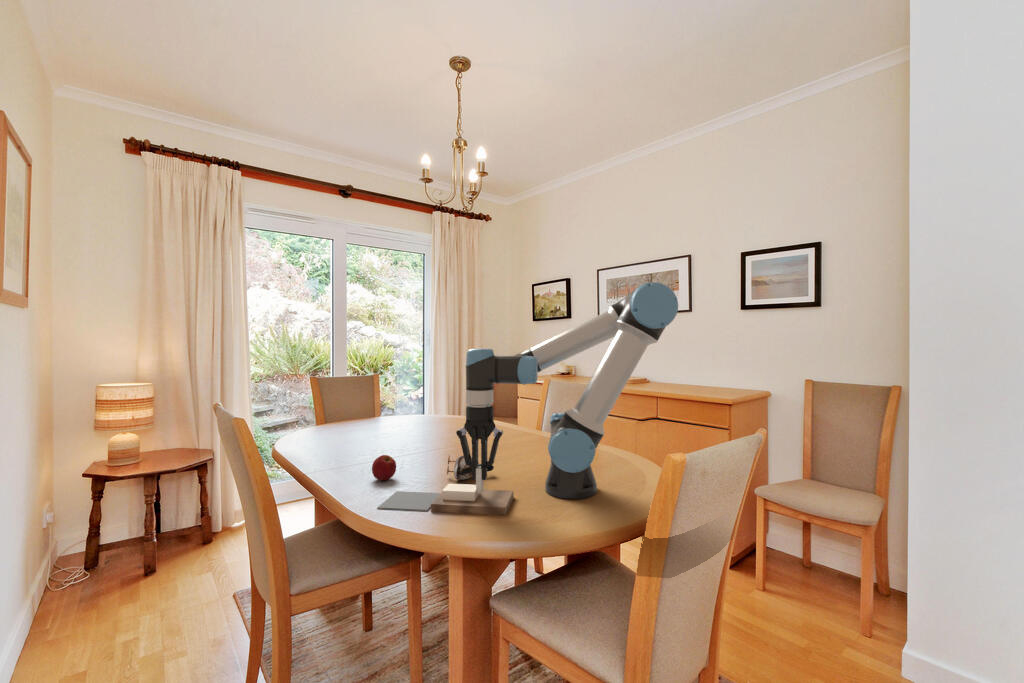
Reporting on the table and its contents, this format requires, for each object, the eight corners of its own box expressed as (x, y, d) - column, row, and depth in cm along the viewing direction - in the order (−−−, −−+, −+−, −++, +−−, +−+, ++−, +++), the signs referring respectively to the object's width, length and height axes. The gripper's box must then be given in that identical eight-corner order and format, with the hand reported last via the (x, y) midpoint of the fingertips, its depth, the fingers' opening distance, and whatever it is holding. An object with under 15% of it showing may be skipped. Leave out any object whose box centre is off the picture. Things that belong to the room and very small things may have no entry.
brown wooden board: (513, 497, 130) (513, 490, 130) (505, 515, 117) (505, 507, 117) (445, 494, 133) (445, 487, 133) (430, 511, 120) (430, 504, 120)
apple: (371, 485, 143) (371, 459, 143) (372, 477, 151) (372, 453, 151) (396, 482, 145) (396, 457, 145) (396, 475, 153) (395, 451, 153)
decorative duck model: (494, 453, 155) (494, 464, 140) (492, 476, 154) (492, 489, 139) (450, 450, 154) (445, 460, 139) (448, 472, 154) (443, 485, 139)
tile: (479, 493, 128) (479, 484, 128) (474, 501, 122) (474, 492, 122) (448, 492, 129) (448, 483, 129) (442, 499, 124) (442, 490, 124)
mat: (442, 494, 133) (442, 493, 133) (427, 511, 121) (427, 509, 121) (396, 492, 136) (396, 491, 136) (377, 508, 123) (377, 507, 123)
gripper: (505, 403, 127) (505, 488, 128) (460, 402, 129) (460, 485, 130) (500, 407, 120) (500, 497, 120) (452, 406, 122) (452, 494, 122)
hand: (479, 491), depth 125 cm, fingers closed
